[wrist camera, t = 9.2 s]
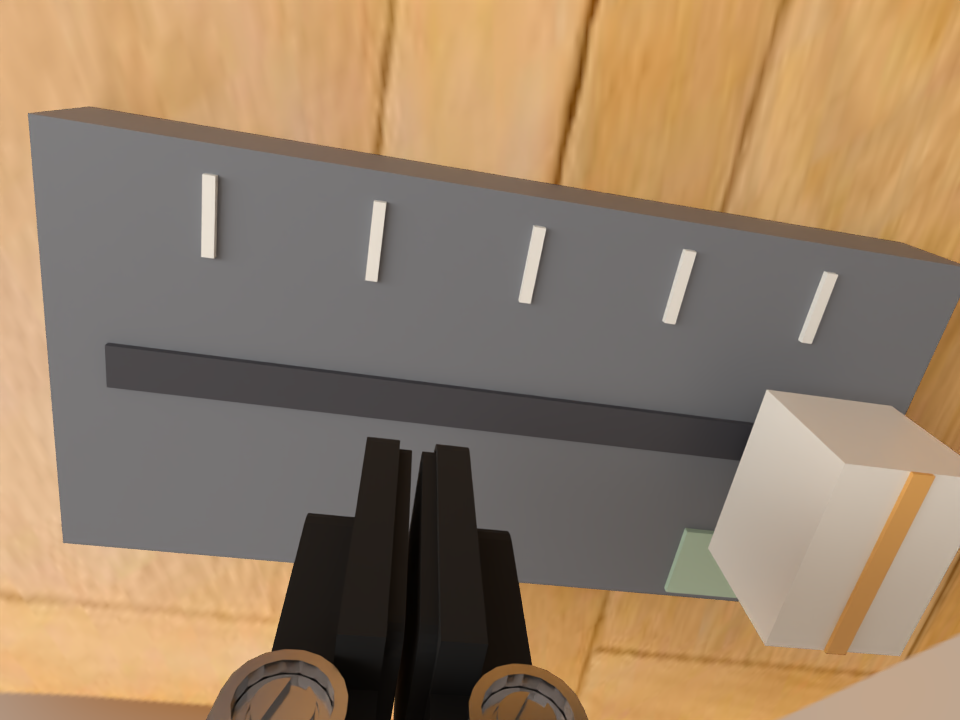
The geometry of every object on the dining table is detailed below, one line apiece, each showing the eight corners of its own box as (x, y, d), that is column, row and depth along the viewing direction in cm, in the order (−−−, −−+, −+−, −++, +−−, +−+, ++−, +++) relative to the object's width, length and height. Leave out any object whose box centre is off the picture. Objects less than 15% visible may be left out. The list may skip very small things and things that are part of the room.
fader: (741, 365, 18) (847, 466, 14) (857, 381, 19) (999, 484, 14) (689, 515, 20) (766, 649, 16) (795, 526, 21) (902, 659, 16)
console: (89, 106, 18) (23, 113, 15) (901, 242, 21) (978, 270, 18) (107, 485, 22) (60, 547, 20) (773, 550, 26) (818, 612, 23)
